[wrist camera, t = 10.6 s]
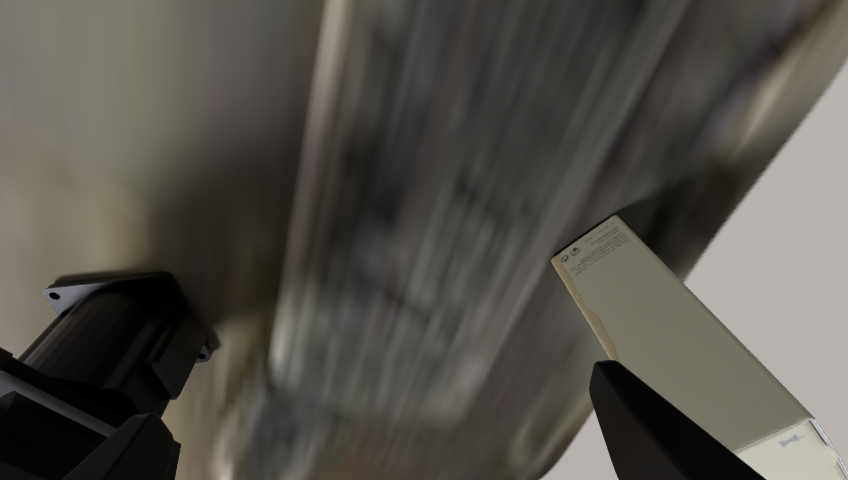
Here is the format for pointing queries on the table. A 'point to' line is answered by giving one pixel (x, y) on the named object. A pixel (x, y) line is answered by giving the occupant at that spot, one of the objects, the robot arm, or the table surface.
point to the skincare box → (691, 356)
